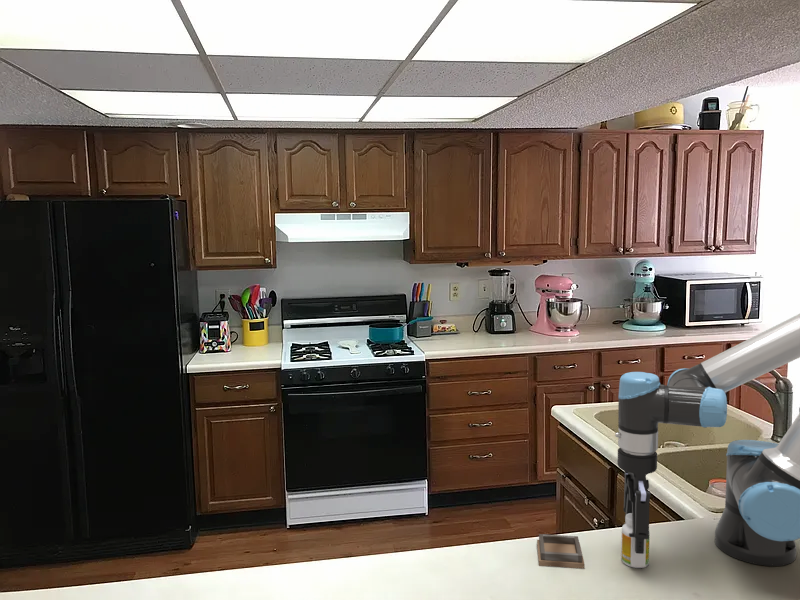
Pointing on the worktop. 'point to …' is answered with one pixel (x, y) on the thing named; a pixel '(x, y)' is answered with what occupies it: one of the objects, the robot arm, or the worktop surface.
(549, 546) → the socket board
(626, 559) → the supplement bottle
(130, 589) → the worktop surface
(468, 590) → the worktop surface
